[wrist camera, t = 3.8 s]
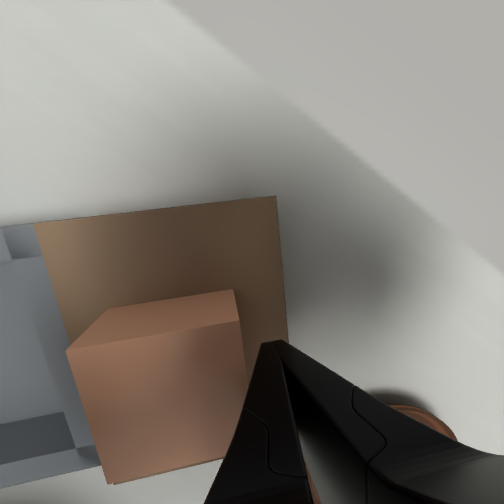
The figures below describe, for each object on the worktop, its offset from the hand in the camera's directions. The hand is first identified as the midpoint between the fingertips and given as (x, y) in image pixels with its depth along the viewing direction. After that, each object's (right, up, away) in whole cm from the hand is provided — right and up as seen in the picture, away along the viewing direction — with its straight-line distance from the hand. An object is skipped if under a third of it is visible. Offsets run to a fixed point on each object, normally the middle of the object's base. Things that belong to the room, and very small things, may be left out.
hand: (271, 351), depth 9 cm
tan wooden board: (-4, +1, +4) cm, 6 cm away
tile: (-3, 0, +1) cm, 3 cm away
